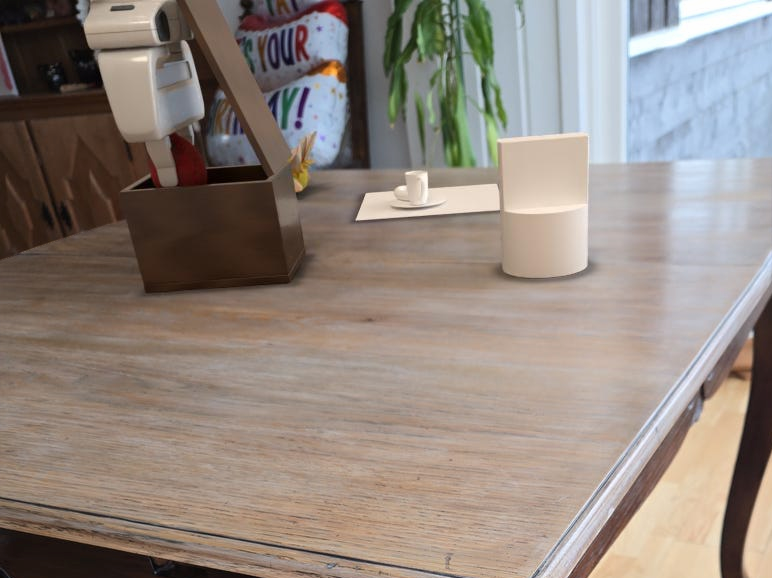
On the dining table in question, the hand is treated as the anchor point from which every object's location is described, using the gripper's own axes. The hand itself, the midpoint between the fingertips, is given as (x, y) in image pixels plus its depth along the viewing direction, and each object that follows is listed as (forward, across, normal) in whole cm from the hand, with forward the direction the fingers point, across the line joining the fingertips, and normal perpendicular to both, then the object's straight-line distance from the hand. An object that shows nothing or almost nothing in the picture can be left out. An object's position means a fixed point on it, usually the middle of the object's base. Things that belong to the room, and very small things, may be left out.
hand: (180, 179), depth 95 cm
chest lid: (-8, 0, +8) cm, 11 cm away
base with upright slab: (+10, +7, +38) cm, 40 cm away
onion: (+3, 0, 0) cm, 3 cm away
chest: (+10, 0, +3) cm, 10 cm away
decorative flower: (+10, -49, +2) cm, 50 cm away
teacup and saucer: (+10, -34, +25) cm, 43 cm away
